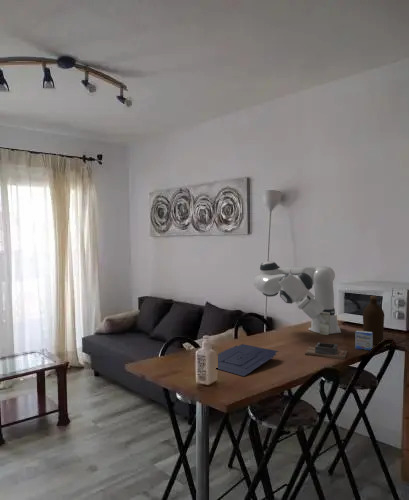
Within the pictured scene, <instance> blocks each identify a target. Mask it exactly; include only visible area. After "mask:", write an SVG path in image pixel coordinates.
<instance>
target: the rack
mask: <svg viewBox="0 0 409 500" xmlns="http://www.w3.org/2000/svg"><path fill="white" fill-rule="evenodd" d="M347 354H348V350H346V349H344V350H343V349H338V343H337V344H336V343H327V342H326V343H325V342H317V343H316V345H315V347H314V346H308V349H307V350H306V351H305V352H304V355H305V356H311V357H312V356H313V357H322V358H331V359H339V360H340V359H341V360H345V359H346V357H347Z"/></svg>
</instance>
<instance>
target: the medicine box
mask: <svg viewBox="0 0 409 500" xmlns="http://www.w3.org/2000/svg"><path fill="white" fill-rule="evenodd" d="M354 335H355V337H354V338H355V339H354V340H355V341H354V342H355V343H354V345H355V346H354V348H355V349H356V350H362V349H364V350H363V351H372V350H373V349H372V348H374V347H373V346H374V345H373V332H367V331H364V330H356V331H355V334H354ZM371 349H372V350H371Z"/></svg>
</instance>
